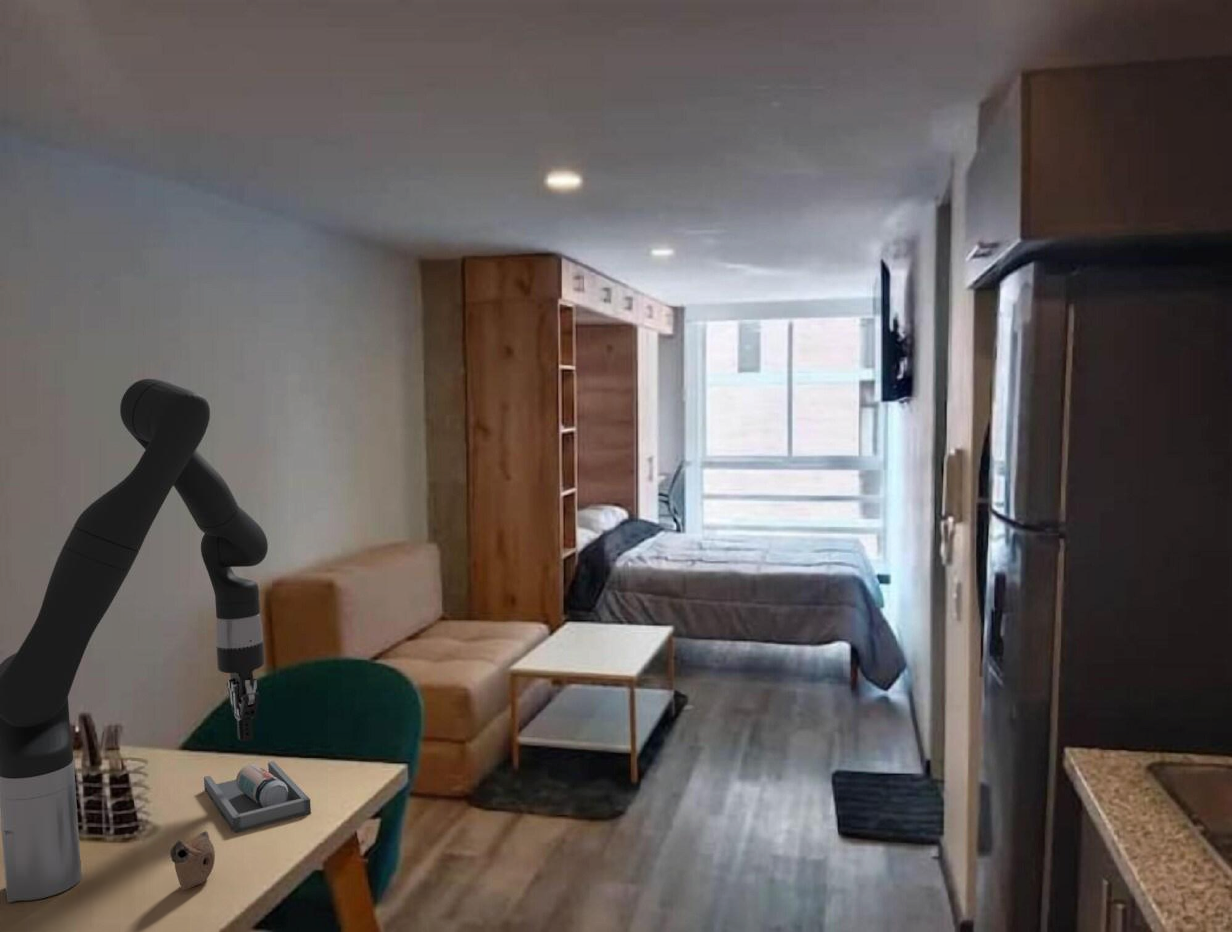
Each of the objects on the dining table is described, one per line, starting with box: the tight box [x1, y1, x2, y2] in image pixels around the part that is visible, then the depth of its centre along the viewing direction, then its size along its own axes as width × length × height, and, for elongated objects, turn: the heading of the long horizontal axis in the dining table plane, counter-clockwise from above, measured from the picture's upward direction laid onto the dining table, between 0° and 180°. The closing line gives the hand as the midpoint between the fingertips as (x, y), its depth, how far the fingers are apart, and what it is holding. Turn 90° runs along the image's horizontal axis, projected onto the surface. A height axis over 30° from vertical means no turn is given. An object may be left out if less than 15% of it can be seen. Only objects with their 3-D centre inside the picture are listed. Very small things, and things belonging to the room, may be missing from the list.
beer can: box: [235, 763, 288, 808], centre depth 166 cm, size 5×5×12 cm
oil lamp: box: [169, 831, 216, 891], centre depth 137 cm, size 9×4×8 cm, turn 173°
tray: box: [203, 760, 312, 834], centre depth 167 cm, size 12×22×2 cm, turn 34°
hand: (245, 739), depth 170 cm, fingers closed
